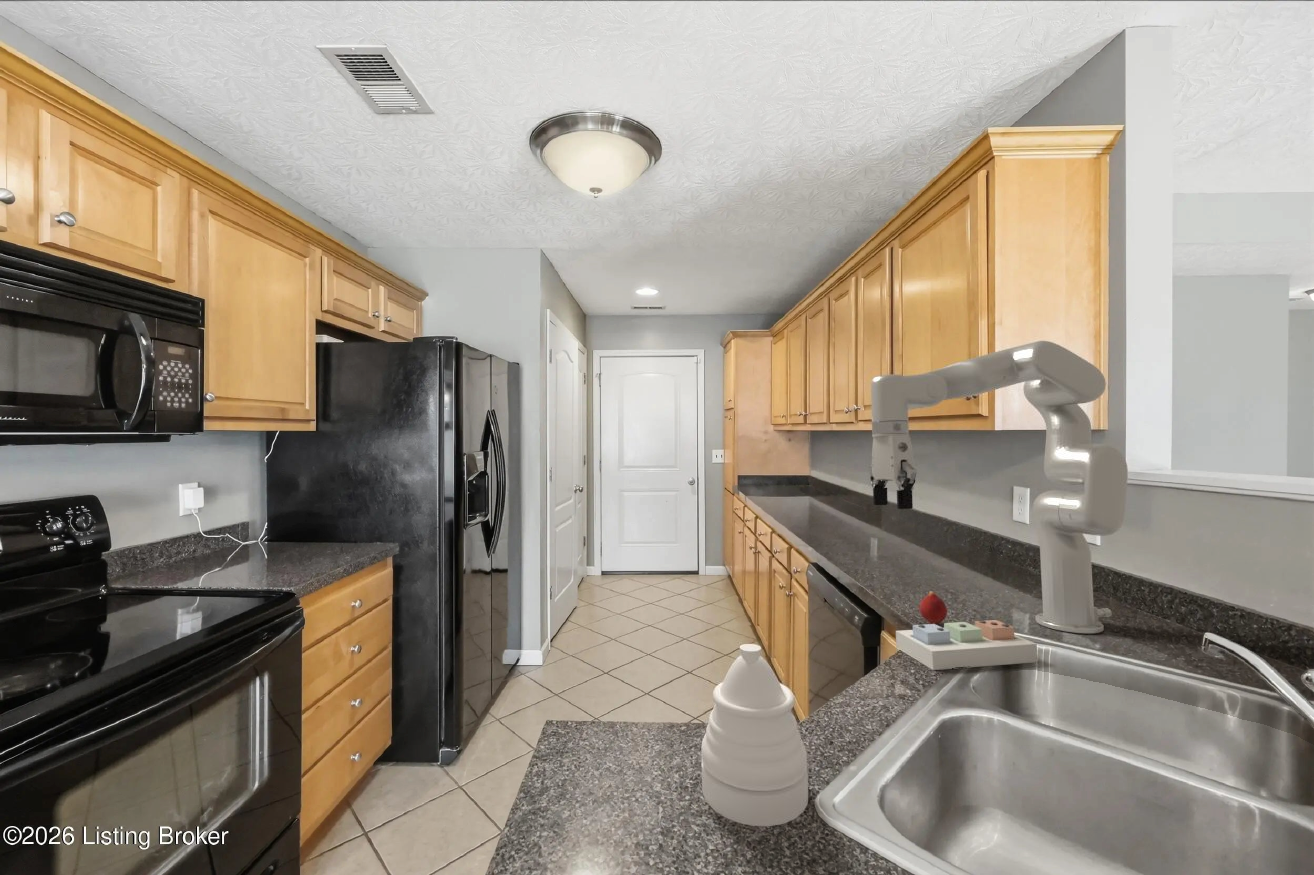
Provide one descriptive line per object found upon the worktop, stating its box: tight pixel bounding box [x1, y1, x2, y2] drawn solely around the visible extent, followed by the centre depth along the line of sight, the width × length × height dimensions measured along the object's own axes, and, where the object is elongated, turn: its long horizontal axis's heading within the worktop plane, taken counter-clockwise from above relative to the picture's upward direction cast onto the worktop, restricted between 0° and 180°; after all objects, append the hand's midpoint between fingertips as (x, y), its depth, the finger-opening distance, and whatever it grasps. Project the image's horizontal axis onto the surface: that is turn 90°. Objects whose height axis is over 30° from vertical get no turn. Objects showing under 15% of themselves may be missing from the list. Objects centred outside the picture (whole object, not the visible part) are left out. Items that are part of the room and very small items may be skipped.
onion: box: [919, 590, 948, 625], centre depth 125 cm, size 6×6×8 cm
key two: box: [912, 623, 950, 645], centre depth 106 cm, size 5×5×3 cm
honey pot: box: [700, 643, 809, 827], centre depth 65 cm, size 13×13×18 cm
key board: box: [895, 629, 1038, 671], centre depth 107 cm, size 22×12×4 cm, turn 97°
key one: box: [943, 621, 983, 643], centre depth 107 cm, size 5×5×3 cm
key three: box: [974, 619, 1015, 641], centre depth 108 cm, size 5×5×3 cm
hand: (892, 506), depth 117 cm, fingers open, 9 cm apart
